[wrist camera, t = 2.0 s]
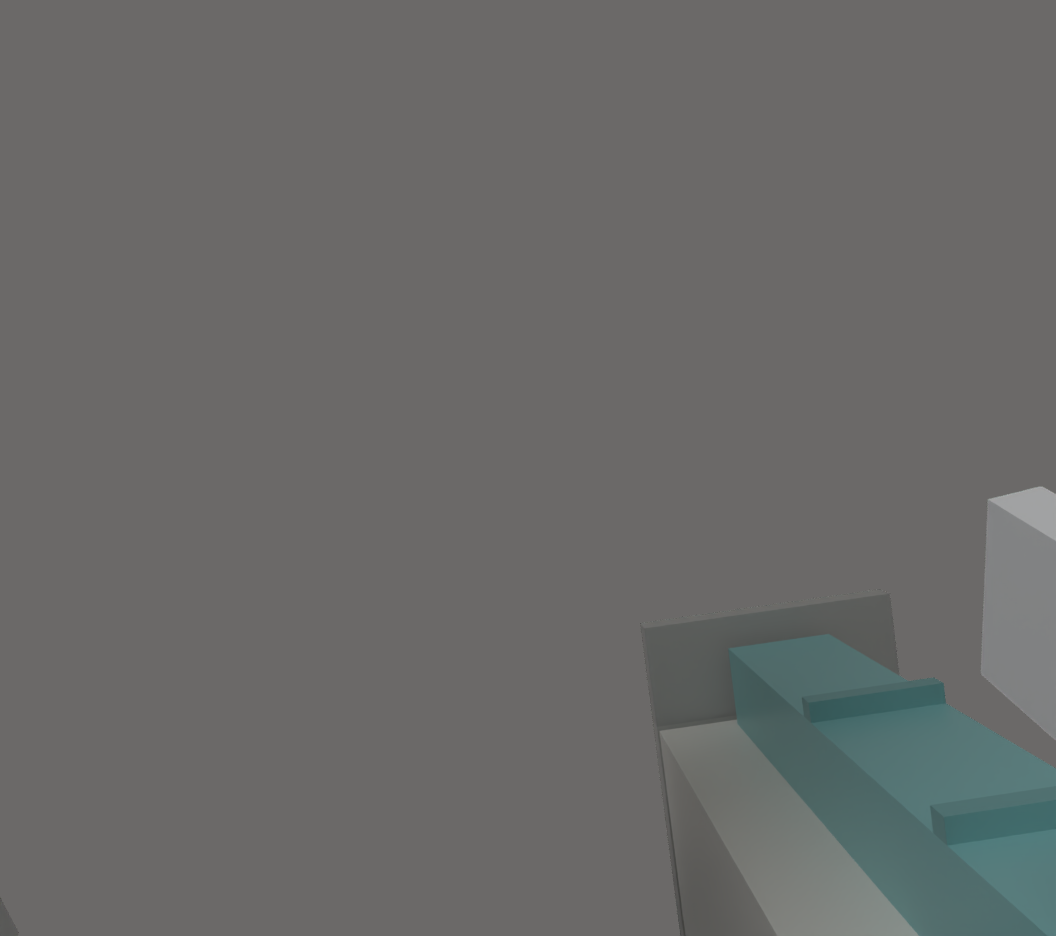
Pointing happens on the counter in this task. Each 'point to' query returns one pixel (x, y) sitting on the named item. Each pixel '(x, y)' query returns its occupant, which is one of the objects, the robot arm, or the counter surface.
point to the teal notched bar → (907, 786)
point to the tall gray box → (754, 781)
